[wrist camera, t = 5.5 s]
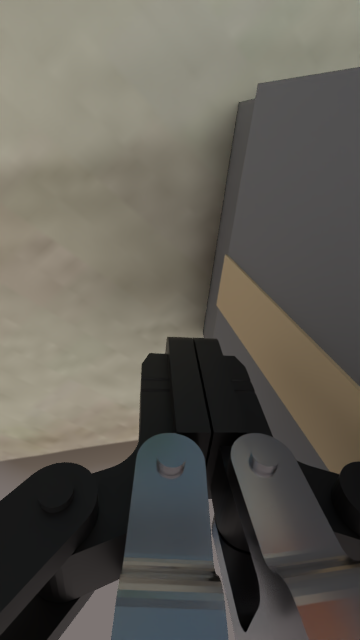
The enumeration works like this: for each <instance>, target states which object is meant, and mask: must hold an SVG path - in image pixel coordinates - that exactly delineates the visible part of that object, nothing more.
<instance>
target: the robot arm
mask: <svg viewBox="0 0 360 640" xmlns="http://www.w3.org/2000/svg"><path fill="white" fill-rule="evenodd" d="M208 499H212V502H213V508H214V518H213V522H212V536H213V540H214V545H215V549H216V553H217V558H218V563H219V567H220V572H221V576H222V580H223V585H224V589H225V594H226V598H227V603H228V607H229V612H230V616H231V621H232V625H233V630H234V636H235V640H360V462H352V463H349V464H347V465H345V466H344V467H343V469H342V470H341V472H340V474H337V473H334V472H330V471H326V470H323V469H319V468H316V467H312V466H309V465H306V464H303V463H301V462H299V461H297V460H296V459H295V457H294V455H293V454H292V452H291V451H290V450H289V449H288V447H286V446H285V445H284V444H283V443H282V442H280V441H279V440H277V439H275V438H273V435H272V433H271V430H270V428H269V425H268V423H267V420H266V418H265V415H264V413H263V410H262V408H261V405H260V403H259V400H258V397H257V395H256V393H255V390H254V387H253V385H252V382H250V377H249V375H248V372H247V369H246V367H245V366H244V365H243V364H242V363H241V362H240V361H239V360H238V359H237V358H236V357H235V356H224V355H223V353H222V350H221V347H220V344H219V341H218V339H213V338H193V339H192V338H183V337H167V342H166V352H165V354H155V353H149V355H148V356H147V358H146V359H145V361H144V362H143V363H142V372H141V392H140V418H139V442H138V445H137V447H136V449H135V451H134V452H133V453H132V454H131V455H130V456H129V457H128V458H127V459H126V460H125V461H123V462H122V463H120V464H118V465H116V466H114V467H111V468H108V469H105V470H102V471H99V472H96V473H92V474H91V473H90V471H89V470H87V469H86V468H84V467H83V466H81V465H78V464H74V463H65V462H64V463H56V464H52V465H49V466H47V467H44V468H42V469H40V470H38V471H37V472H36V473H34V474H33V475H31V476H30V477H29V478H28V479H27V480H25V481H24V482H23V483H22V484H20V485H19V486H18V487H17V488H16V489H14V490H13V491H12V492H11V493H9V494H8V495H7V496H6V497H5V498H3V499H2V500H1V501H0V640H58V639H59V638H60V636H61V635H62V634H63V633H64V631H65V630H66V629H67V627H68V626H69V625H70V623H71V622H72V621H73V619H74V618H75V617H76V615H77V614H78V612H79V611H80V610H81V609H82V607H83V606H84V605H85V603H86V602H87V601H88V599H89V598H90V597H91V595H92V594H93V592H94V591H95V590H96V589H98V588H101V587H103V586H105V585H107V584H109V583H112V582H114V581H116V580H118V579H119V585H118V591H117V599H116V606H115V613H114V622H113V629H112V636H111V640H228V630H227V621H226V610H225V601H224V594H223V589H222V584H221V581H220V578H219V576H218V575H216V573H215V569H214V563H213V553H212V541H211V529H210V516H209V503H208Z"/></svg>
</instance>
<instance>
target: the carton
mask: <svg viewBox="0 0 360 640" xmlns="http://www.w3.org/2000/svg"><path fill="white" fill-rule="evenodd" d="M254 104H255V99H251V100H247V101H243V102H239V105H238V111H237V117H236V124H235V130H234V137H233V143H232V149H231V156H230V162H229V169H228V175H227V181H226V188H225V194H224V201H223V207H222V213H221V220H220V226H219V233H218V239H217V246H216V252H215V258H214V265H213V271H212V278H211V284H210V290H209V297H208V303H207V310H206V316H205V322H204V329H203V335H204V338H213V336H214V331H215V325H216V319H217V314H218V307H217V305H216V304H217V298H218V293H219V287H220V281H221V275H222V269H223V263H224V258H225V255H228V251H229V246H230V240H231V234H232V229H233V223H234V217H235V212H236V206H237V200H238V195H239V189H240V183H241V178H242V172H243V166H244V161H245V155H246V149H247V144H248V138H249V132H250V127H251V121H252V115H253V110H254Z"/></svg>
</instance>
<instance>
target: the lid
mask: <svg viewBox="0 0 360 640" xmlns="http://www.w3.org/2000/svg"><path fill="white" fill-rule="evenodd" d="M216 305H217V307H218V314H217V319H216V325H215V331H214V336H213V339H218V341H219V344H220V347H221V350H222V353H223V355H224V356H235V357H236V358H237V359H238V360H239V361H240V362H241V363H242V364H243V365H244V366H245V367H246V369H247V372H248V375H249V377H250V382H252V385H253V387H254V390H255V393H256V395H257V397H258V400H259V403H260V405H261V408H262V410H263V413H264V415H265V418H266V420H267V423H268V425H269V428H270V430H271V433H272V435H273V438H275V439H277V440H279V441H280V442H282V443H283V444H284V445H285V446H286V447H288V449H289V450H290V451H291V452H292V454H293V455H294V457H295V459H296V460H297V461H299V462H301V463H303V464H306V465H309V466H312V467H316V468H319V469H323V470H326V471H330V472H334V473H337V474H340V472H341V470H342V469H343V467H344V466H345V465H347V464H349V463H352V462H360V67H357V68H351V69H345V70H339V71H333V72H327V73H321V74H315V75H308V76H302V77H296V78H290V79H284V80H278V81H272V82H266V83H260V84H258V87H257V93H256V98H255V104H254V110H253V115H252V121H251V127H250V132H249V138H248V144H247V149H246V155H245V161H244V166H243V172H242V178H241V183H240V189H239V195H238V200H237V206H236V212H235V217H234V223H233V229H232V234H231V240H230V246H229V251H228V255H225V258H224V263H223V269H222V275H221V281H220V287H219V293H218V298H217V304H216Z"/></svg>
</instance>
